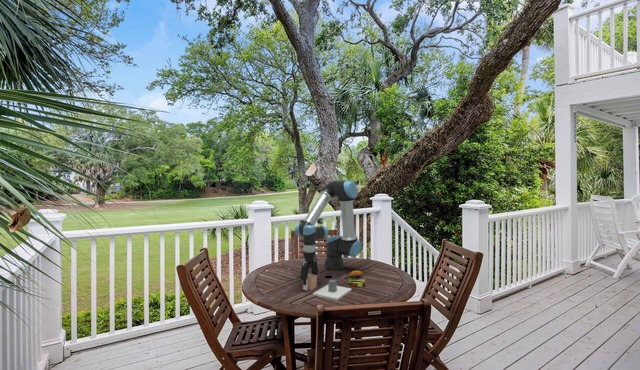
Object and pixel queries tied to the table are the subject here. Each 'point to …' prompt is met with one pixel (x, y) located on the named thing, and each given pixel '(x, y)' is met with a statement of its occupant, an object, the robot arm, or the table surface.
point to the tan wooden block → (312, 281)
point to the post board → (334, 295)
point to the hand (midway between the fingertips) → (309, 287)
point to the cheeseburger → (356, 278)
